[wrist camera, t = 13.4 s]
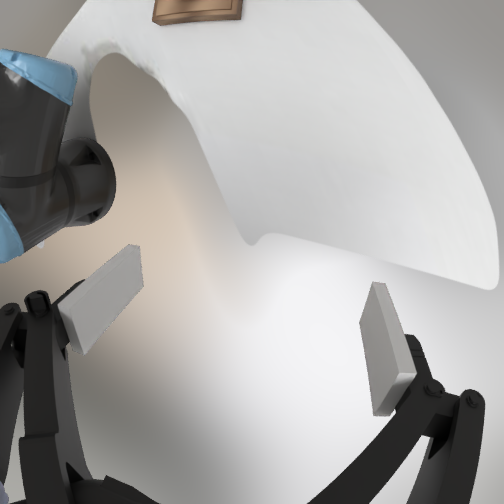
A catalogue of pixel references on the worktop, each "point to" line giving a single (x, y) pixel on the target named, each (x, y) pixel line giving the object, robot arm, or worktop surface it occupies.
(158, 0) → the tray
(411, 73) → the worktop surface
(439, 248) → the worktop surface
